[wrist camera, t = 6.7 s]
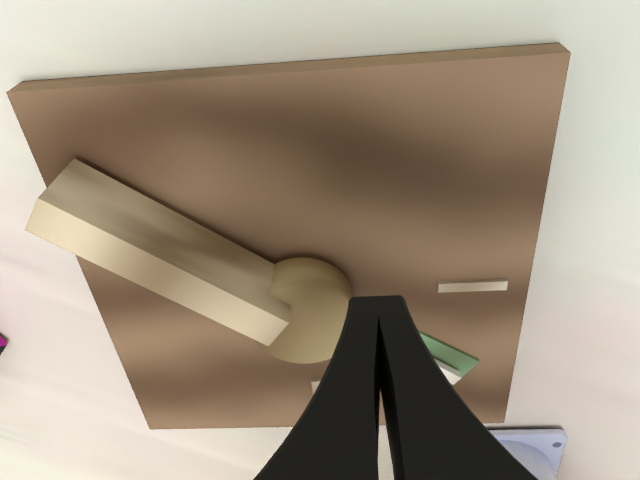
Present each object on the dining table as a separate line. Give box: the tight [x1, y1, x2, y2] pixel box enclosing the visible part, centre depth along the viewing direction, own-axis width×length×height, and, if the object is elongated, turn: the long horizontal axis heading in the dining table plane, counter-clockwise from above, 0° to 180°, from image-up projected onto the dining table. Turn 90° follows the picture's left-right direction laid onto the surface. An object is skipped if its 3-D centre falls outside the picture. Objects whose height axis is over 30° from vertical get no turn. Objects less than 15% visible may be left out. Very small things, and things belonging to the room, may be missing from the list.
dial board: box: [6, 43, 571, 429], centre depth 25 cm, size 20×20×1 cm
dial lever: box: [25, 158, 461, 385], centre depth 23 cm, size 20×4×3 cm, turn 57°
